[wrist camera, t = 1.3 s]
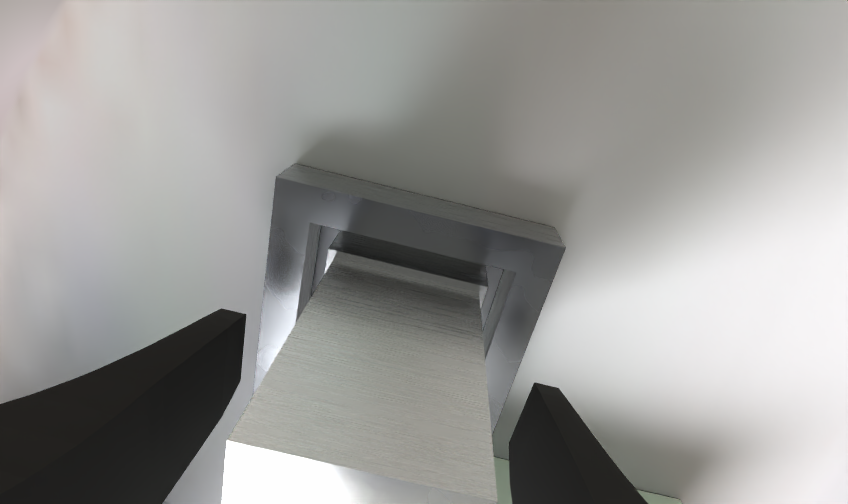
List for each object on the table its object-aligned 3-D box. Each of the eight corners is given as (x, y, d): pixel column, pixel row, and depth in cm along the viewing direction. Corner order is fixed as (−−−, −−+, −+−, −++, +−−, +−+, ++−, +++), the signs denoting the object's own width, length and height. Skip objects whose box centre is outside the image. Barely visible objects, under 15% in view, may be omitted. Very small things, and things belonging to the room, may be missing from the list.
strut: (321, 347, 16) (201, 608, 8) (342, 228, 14) (213, 427, 7) (448, 376, 16) (441, 659, 8) (484, 262, 14) (515, 495, 7)
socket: (269, 374, 16) (251, 404, 15) (295, 163, 13) (275, 177, 12) (481, 423, 16) (483, 457, 15) (554, 227, 13) (565, 247, 12)
